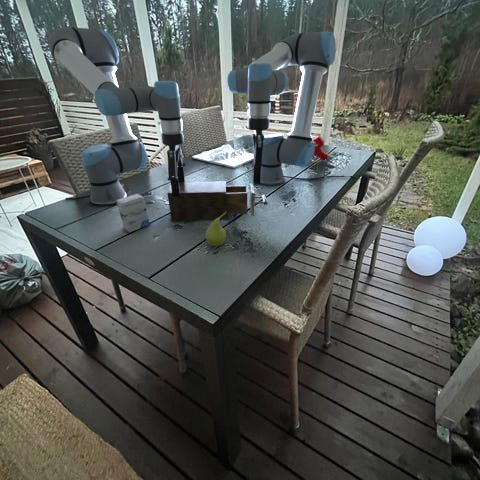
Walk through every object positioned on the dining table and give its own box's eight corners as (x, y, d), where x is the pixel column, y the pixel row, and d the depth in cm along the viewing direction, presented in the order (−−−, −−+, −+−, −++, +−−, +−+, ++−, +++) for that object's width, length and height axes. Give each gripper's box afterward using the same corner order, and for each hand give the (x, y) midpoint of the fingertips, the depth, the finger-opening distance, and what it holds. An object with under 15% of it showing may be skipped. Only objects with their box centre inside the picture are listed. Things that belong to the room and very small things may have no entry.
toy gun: (332, 155, 171) (320, 134, 167) (331, 157, 167) (319, 136, 164) (306, 170, 181) (294, 151, 177) (306, 172, 177) (293, 153, 174)
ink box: (144, 220, 108) (137, 192, 101) (150, 224, 105) (144, 196, 98) (123, 228, 103) (115, 199, 96) (129, 232, 100) (121, 203, 93)
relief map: (234, 168, 162) (234, 159, 159) (192, 158, 180) (191, 150, 177) (259, 157, 180) (259, 149, 178) (219, 149, 198) (218, 142, 195)
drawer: (264, 205, 117) (265, 183, 112) (267, 215, 109) (269, 192, 103) (204, 206, 116) (202, 184, 111) (203, 217, 108) (201, 194, 102)
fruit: (204, 241, 94) (201, 210, 88) (224, 237, 97) (223, 206, 90) (209, 251, 89) (206, 219, 83) (230, 246, 91) (229, 215, 85)
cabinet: (226, 207, 117) (225, 181, 111) (226, 219, 108) (225, 191, 102) (176, 208, 117) (172, 182, 110) (171, 221, 107) (167, 193, 101)
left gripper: (167, 125, 105) (174, 177, 117) (153, 140, 84) (163, 202, 96) (187, 125, 105) (192, 177, 117) (177, 140, 84) (184, 202, 96)
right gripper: (246, 114, 98) (246, 176, 111) (248, 120, 88) (248, 188, 100) (267, 113, 99) (264, 176, 111) (272, 119, 88) (268, 188, 100)
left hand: (179, 189), depth 106 cm, fingers open, 13 cm apart
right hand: (256, 182), depth 106 cm, fingers closed
